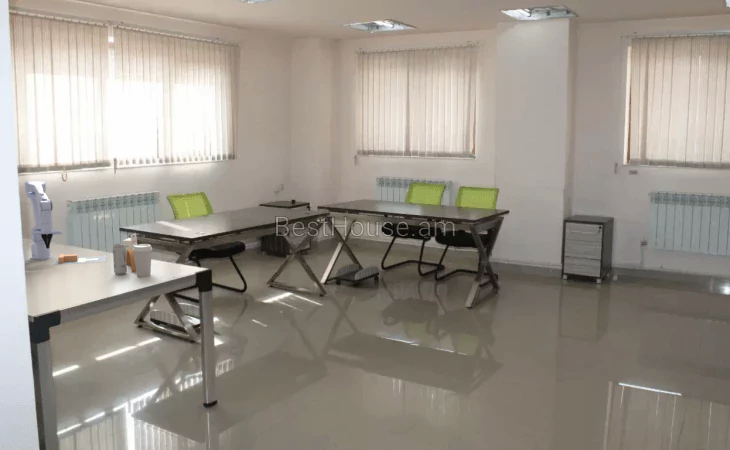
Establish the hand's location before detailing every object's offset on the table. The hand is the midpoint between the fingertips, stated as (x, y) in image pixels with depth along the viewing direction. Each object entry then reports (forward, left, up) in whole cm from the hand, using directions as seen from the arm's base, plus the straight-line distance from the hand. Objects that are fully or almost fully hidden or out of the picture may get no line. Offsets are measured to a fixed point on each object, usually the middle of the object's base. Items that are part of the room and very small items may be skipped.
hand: (48, 248), depth 353 cm
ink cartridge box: (+33, +25, -8) cm, 43 cm away
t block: (+7, +7, -8) cm, 12 cm away
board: (+11, +11, -8) cm, 17 cm away
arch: (+50, +10, -9) cm, 52 cm away
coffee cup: (+66, -1, -8) cm, 67 cm away
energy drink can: (+53, -3, -8) cm, 54 cm away
